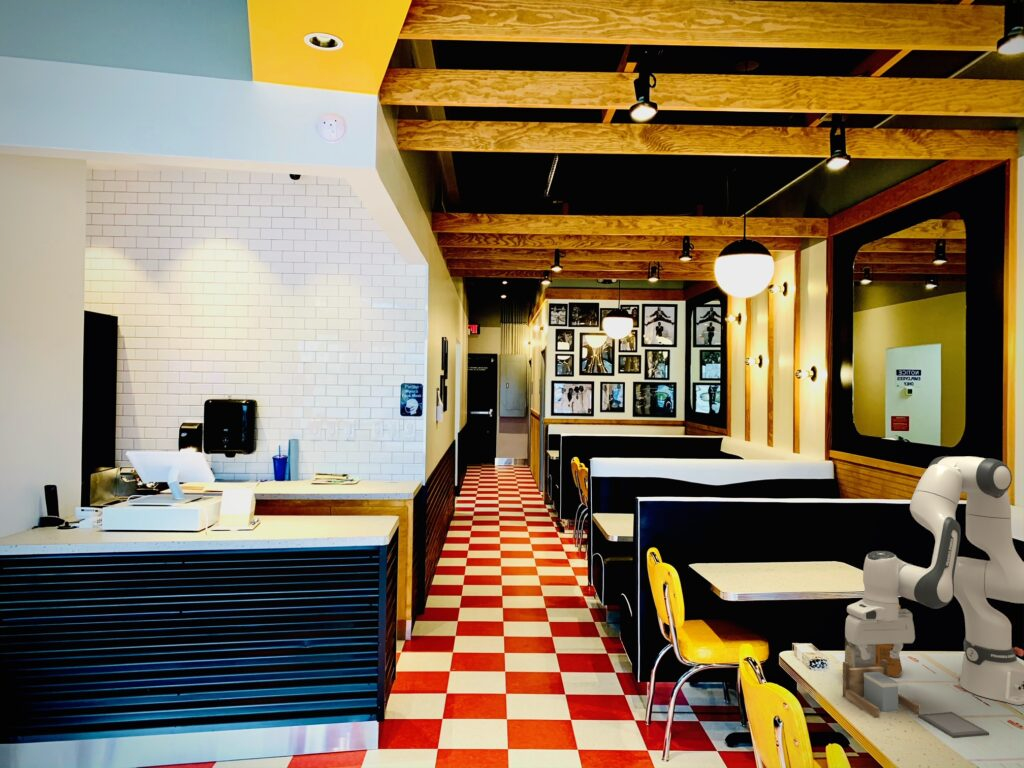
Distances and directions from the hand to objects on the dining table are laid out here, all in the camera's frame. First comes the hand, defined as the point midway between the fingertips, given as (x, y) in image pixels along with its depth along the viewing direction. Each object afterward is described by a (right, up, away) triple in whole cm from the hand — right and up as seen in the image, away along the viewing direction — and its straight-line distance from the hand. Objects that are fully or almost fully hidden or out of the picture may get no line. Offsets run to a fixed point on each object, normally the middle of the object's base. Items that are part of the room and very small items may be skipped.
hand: (880, 658), depth 176 cm
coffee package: (+15, -15, +25) cm, 32 cm away
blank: (0, -13, 0) cm, 13 cm away
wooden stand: (0, -13, 0) cm, 13 cm away
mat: (+13, -13, -11) cm, 21 cm away
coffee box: (+2, -14, +14) cm, 20 cm away
